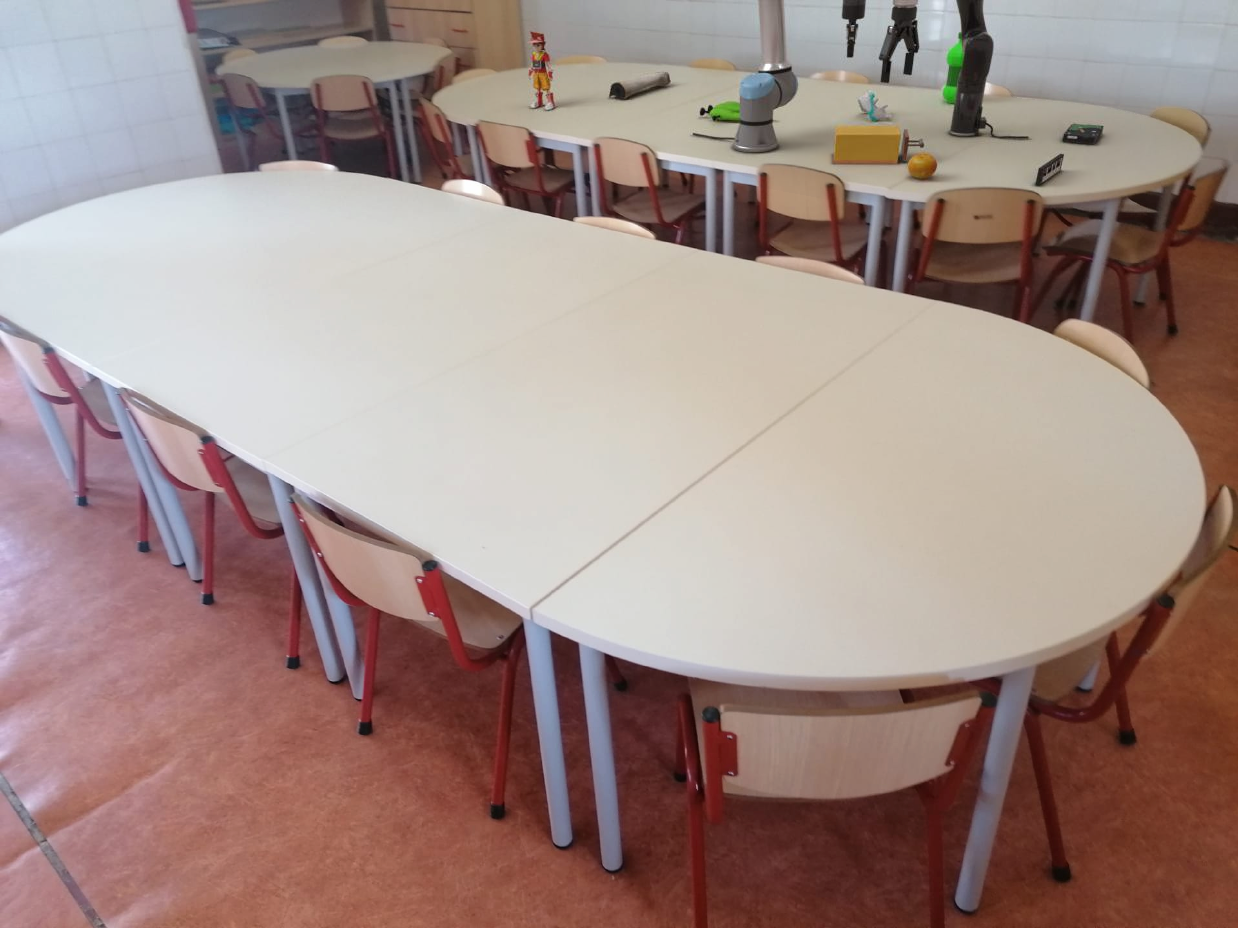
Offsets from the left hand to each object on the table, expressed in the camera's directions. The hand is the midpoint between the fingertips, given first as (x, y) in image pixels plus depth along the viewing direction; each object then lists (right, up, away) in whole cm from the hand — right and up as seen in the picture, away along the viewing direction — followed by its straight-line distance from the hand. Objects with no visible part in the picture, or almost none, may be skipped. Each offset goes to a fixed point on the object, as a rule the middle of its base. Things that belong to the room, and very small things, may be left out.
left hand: (896, 78), depth 291 cm
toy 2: (-42, +11, +61) cm, 75 cm away
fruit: (+5, -35, -9) cm, 37 cm away
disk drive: (+69, -14, +16) cm, 72 cm away
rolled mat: (-80, +40, +106) cm, 139 cm away
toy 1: (-123, +27, +92) cm, 156 cm away
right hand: (-10, +16, +18) cm, 26 cm away
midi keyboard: (+42, -37, -16) cm, 58 cm away
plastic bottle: (+43, +18, +64) cm, 79 cm away
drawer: (-2, -22, +8) cm, 24 cm away
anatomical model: (+7, +8, +52) cm, 53 cm away
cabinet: (-8, -23, +10) cm, 26 cm away
